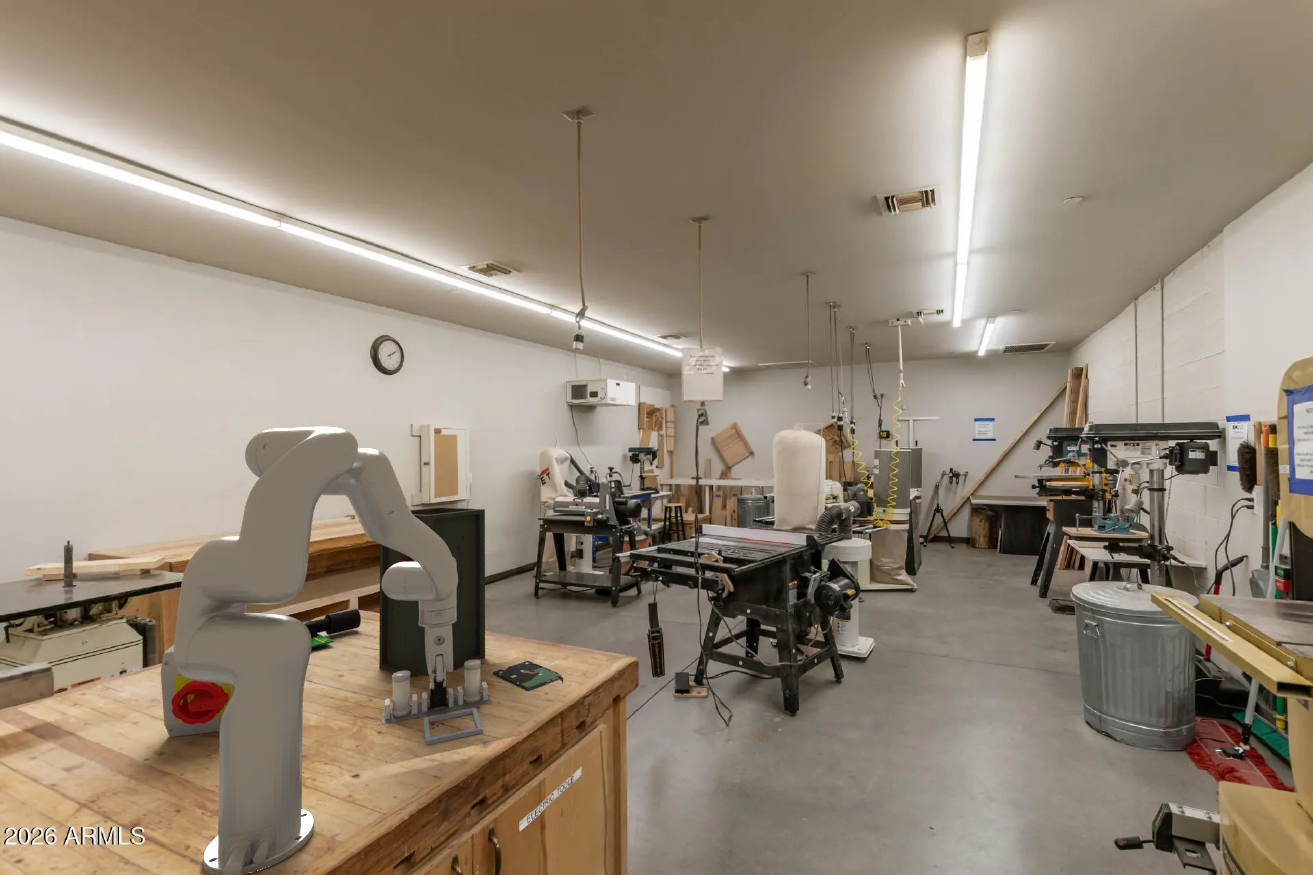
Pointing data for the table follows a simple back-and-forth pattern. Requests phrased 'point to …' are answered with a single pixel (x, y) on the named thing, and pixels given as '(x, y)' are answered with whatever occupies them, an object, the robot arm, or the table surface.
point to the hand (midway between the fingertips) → (437, 702)
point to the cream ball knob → (472, 681)
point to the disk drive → (528, 675)
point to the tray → (452, 735)
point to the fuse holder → (424, 710)
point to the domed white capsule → (401, 693)
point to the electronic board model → (332, 625)
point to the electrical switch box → (191, 701)
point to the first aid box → (467, 546)
